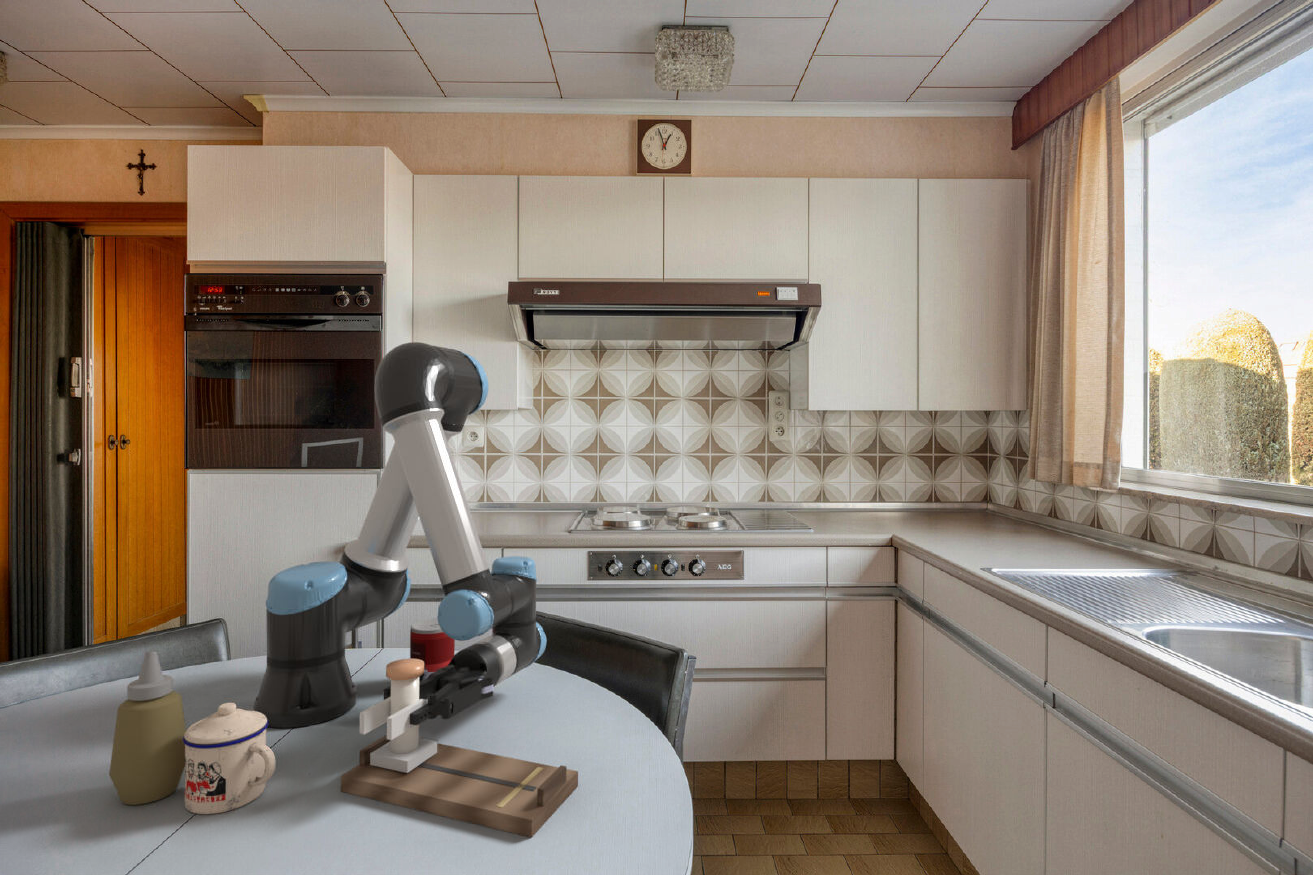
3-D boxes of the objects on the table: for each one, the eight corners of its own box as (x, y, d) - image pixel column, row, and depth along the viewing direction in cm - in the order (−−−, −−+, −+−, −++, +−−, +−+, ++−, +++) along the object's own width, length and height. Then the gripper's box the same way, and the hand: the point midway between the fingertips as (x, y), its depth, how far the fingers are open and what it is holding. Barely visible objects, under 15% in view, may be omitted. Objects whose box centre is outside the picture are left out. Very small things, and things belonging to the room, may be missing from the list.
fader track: (340, 791, 87) (340, 760, 87) (404, 750, 98) (404, 722, 98) (531, 837, 78) (532, 802, 78) (577, 786, 89) (578, 756, 89)
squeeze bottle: (125, 818, 80) (126, 668, 80) (97, 798, 84) (98, 655, 84) (200, 788, 87) (201, 649, 87) (171, 771, 91) (172, 639, 91)
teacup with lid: (163, 809, 82) (164, 714, 82) (230, 773, 91) (231, 687, 91) (240, 827, 79) (240, 728, 79) (301, 788, 87) (302, 698, 87)
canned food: (460, 676, 128) (461, 618, 128) (443, 692, 120) (444, 631, 120) (421, 674, 129) (422, 617, 128) (402, 690, 121) (402, 629, 120)
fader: (370, 764, 89) (371, 668, 89) (401, 744, 95) (402, 654, 95) (407, 772, 87) (408, 674, 87) (437, 752, 93) (438, 660, 93)
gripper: (527, 697, 105) (429, 767, 83) (438, 682, 111) (324, 744, 88) (527, 649, 105) (430, 706, 83) (438, 637, 110) (324, 687, 88)
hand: (375, 725), depth 86 cm, fingers closed on fader, 4 cm apart
